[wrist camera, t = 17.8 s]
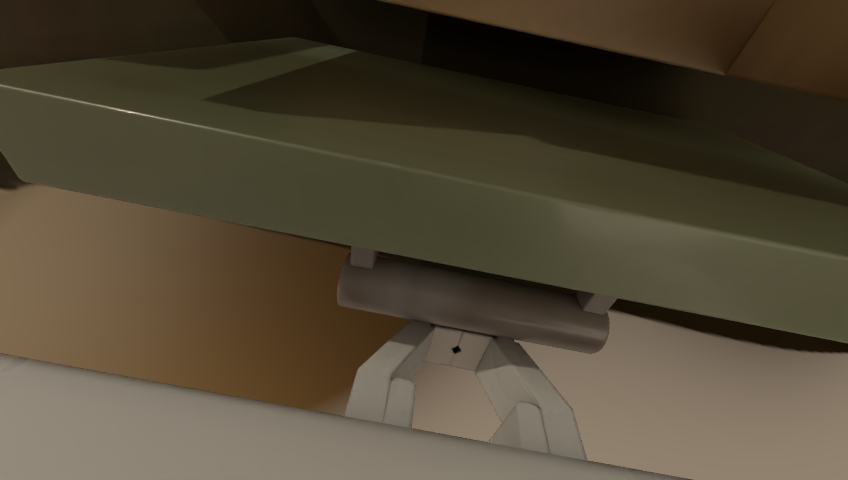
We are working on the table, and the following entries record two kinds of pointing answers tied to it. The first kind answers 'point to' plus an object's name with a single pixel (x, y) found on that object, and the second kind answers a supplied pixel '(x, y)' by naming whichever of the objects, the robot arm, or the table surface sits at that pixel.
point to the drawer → (478, 166)
